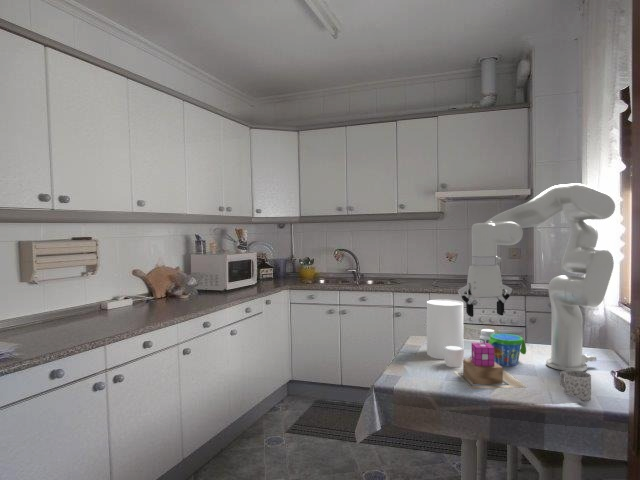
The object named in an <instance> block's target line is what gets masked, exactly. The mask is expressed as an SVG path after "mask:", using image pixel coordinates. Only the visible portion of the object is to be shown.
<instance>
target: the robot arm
mask: <svg viewBox="0 0 640 480" xmlns="http://www.w3.org/2000/svg"><path fill="white" fill-rule="evenodd" d="M615 211H616V202H615V200H614V199H613V197H612V196H611V195H609V194H608V193H605V192H604V191H601V190H598V189H596V188H595V187H594V188H593V187H591V186H589V185H586V184H582V183H567V184H558V185H554V186H551V187H549V188H547V189H545V190H544V191H542V192H541V193H540V194H538V195H536V196H535V197H533V198H532V199H530V200H528V201H527V202H525V203H522V204H519V205H517V206H515V207H512V208H509V209H507V210H505V211H503V212H499V213H498V214H496V215H494V216H492V217H491V218H489V219H488V220H486V221H485V222H478V223H474V224H472V226H471V265H469V267H468V272H467V279H466V281H467V282H466V285H464V286H463V287H460V288H459V289H458V290H457V293H458V294H459V296H460V299H461V300H462V301H463V302H464V303H465V304H466V305H465V306H466V307H465V311H466V314H467V316H469V317H470V318H471V317H472V318H473V317H474V315H475V314H474V304H473V302H474V301H475V299H486V298H487V299H491V298H493V299H494V298H496V299H497V301H496V314H497V315H499V316H504V312H505V303H506V302H507V300H508V299H509V298H510V295H511V293H512V292H513V288H512V287H509V286H508V285H506V284H504V283H503V279H502V273H501V272H502V271H501V269H500V268H501V267H500V266H499V263H500V262H502V257H499V256H498V245H501V246H512V245H516V244H518V243H519V242H520V241H521V240H522V239H523V236H524V231H523V229H526V228H527V229H528V228H533V227H536V226H539V225H542V224H544V223H545V222H547V221H548V220H550V219H551V218H553V217H555V216H556V215H558V214H559V213H560V212H563V215H564V216H565V219H566V220H567V223H568V224H569V229H570V234H569V237H568V240H567V241H568V242H567V244H566V247H565V250H564V254H563V257H562V261H561V266H562V268H563V270H564V271H566V272H568V273H571V274H577V275H584V277H583V276H574V275H568V274H567V275H564V274H563V275H562V274H561V275H557V276H555V277H553V278H552V279H551V280H550V281H549V283H548V296H549V300H550V307H551V308H550V311H551V323H550V324H551V337H550V338H551V339H550V340H551V341H550V342H551V345H550V346H551V348H550V349H551V353H550V355H551V356H550V357H551V358H548V359H546V360H545V361H546V362H545V364H546V366H548V367H550V368H552V369H555V370H558V371H568V370H576V371H582V372H586V371H588V364H587V363H588V362H591V363H592V362H597V357H596V355H589V356H588V354H584V353H583V337H584V336H583V335H584V334H583V324H584V321H583V320H584V319H583V314H582V310H581V308H580V307H585V308H595V307H598V306H600V305H601V303H602V302H603V300H604V298H605V296H606V294H607V289H608V286H609V283H610V280H611V277H612V273H613V272H614V271H613V270H614V257H613V255H612V253H611V252H610V251H609V250H608V249H606V248H603V247H598V246H597V242H598V239H599V234H598V230H597V228H596V226H595V224H594V223H593V220H605V219H609V218H610V217H612V216H613V214H614V212H615ZM596 246H597V247H596ZM503 290H504V291H505V292H504V293H503ZM465 292H466V293H467V294H466V295H467V296H466V295H465Z"/></svg>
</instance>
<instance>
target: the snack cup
mask: <svg viewBox="0 0 640 480" xmlns="http://www.w3.org/2000/svg"><path fill="white" fill-rule="evenodd" d="M488 343H490V344H491V345H492V346H493V347H494V348H495V355H494V362H496V363H497V364H499V365H500V366H505V367H515V366H517V365H518V364H519V361H520V360H519V358H520V354H521V355H526V353H527V346H526V342H525V340H524V338H523V337H522V336H520V335H517V334H512V333H494V334H492V335H491V336H490V340H489V342H488Z"/></svg>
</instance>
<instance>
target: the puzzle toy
mask: <svg viewBox="0 0 640 480" xmlns="http://www.w3.org/2000/svg"><path fill="white" fill-rule="evenodd" d="M494 355H495V348H494V347H493V346H492V345H491V344H490V343H480V342H471V359H472V361H473V363H474V364H475V365H476V366H494Z"/></svg>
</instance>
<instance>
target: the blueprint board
mask: <svg viewBox="0 0 640 480" xmlns="http://www.w3.org/2000/svg"><path fill="white" fill-rule="evenodd" d="M453 373H454V374H456V376H458V378H460V379H461V380H462V381H463V382H464V383H465V384H466V385H467V386H468V387H469V388H470V389H473V390H474V389H475V390H477V389H480V390H481V389H512V388H513V389H514V388H515V389H517V388H528V386H527V385H525V384H524V383H523V382H521V381H520V380H519V379H517V378H515V377H514V376H513V375H511V374H510V373H509V372H508V371H506V370H505V369H503V384H473V383H472V382H471V381H470V380H469V379H467V378H466V377H465V376H464V375H463V370H454V371H453Z"/></svg>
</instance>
